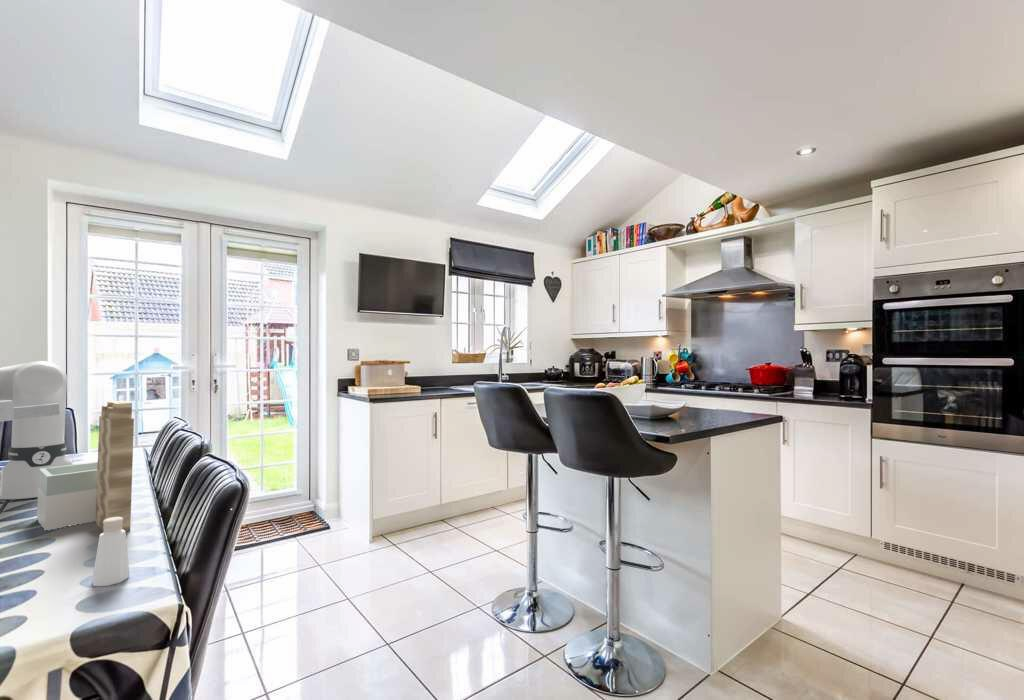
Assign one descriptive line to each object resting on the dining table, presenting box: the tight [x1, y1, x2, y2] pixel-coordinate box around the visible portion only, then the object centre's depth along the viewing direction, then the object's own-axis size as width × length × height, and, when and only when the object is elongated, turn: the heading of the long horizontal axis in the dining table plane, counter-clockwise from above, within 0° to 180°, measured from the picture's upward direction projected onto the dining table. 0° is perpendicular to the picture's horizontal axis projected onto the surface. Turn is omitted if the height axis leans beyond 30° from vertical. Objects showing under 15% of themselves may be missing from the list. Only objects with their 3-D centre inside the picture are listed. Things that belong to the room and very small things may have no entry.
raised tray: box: [36, 461, 98, 532], centre depth 118 cm, size 12×16×12 cm
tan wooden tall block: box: [95, 400, 135, 532], centre depth 112 cm, size 12×4×30 cm, turn 52°
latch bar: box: [0, 400, 60, 423], centre depth 100 cm, size 4×11×4 cm, turn 142°
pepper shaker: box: [91, 517, 130, 587], centre depth 85 cm, size 5×5×11 cm
